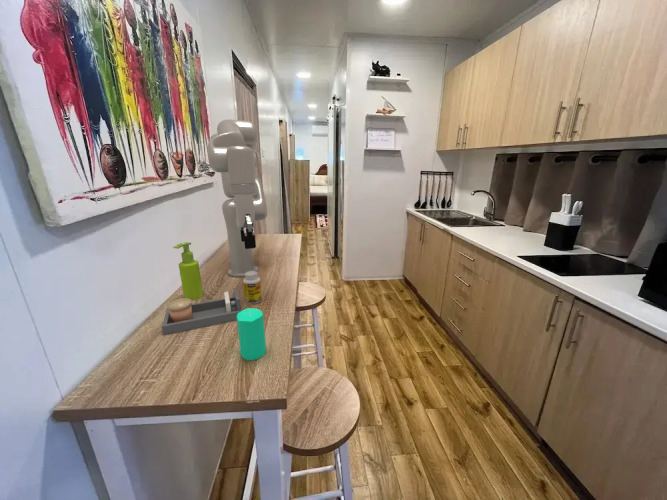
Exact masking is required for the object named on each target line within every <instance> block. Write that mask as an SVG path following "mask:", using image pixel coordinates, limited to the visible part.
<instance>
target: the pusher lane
mask: <svg viewBox="0 0 667 500" xmlns="http://www.w3.org/2000/svg"><path fill="white" fill-rule="evenodd" d="M233 294H234V296H229V299H230V306H231V312H227V311H226V303H225V297H223V298H219V299H213V300H207V301H206V300H205V301H202V302H201V301H200V302H196V303H191V307H192V313H193V319H191V320H185V321H180V322H175V323H172V322H171V317H170V312H169V309H168V307H167V308H166V311H165V314H164V317H163V321H162V324H161V329H162V330H161V331H162V335H163V336H167V335H171V334H176V333H181V332H187V331H191V330H197V329H201V328H206V327H211V326H216V325H221V324H226V323H230V322H235V321H236V322H237V314H238V313H239V312H241V311H242V307H241V300H240V295H239V291H238V288H237V287H233Z"/></svg>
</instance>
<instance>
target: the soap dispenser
mask: <svg viewBox="0 0 667 500" xmlns="http://www.w3.org/2000/svg"><path fill="white" fill-rule="evenodd" d="M190 245H192V242H188V241H186V242H182V243H178V244H176V245H174V246H173V247H172V248H173V249H180V248H182V249H183V251H182V252H181V254H180V255H181V260H182V261H181V262H179V263H178V269H179V276H180V280H181V281H180V282H181V286H182V293H183V298H188V299H190V300H191V301H192V300H196V299H200V298H201V297H203V296H204V292H203V285H202V284H203V283H202V278H201V277H202V276H201V272H200V264H199V261H198V260H196V259H194V253H193V251H191V250H190Z"/></svg>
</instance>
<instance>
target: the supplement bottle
mask: <svg viewBox="0 0 667 500" xmlns="http://www.w3.org/2000/svg"><path fill="white" fill-rule="evenodd" d="M243 278H244V279H243V280H242V284H243V294H244V301H245V302H247V303H252V305H255V304H258V303H261V302H262V299H263V297H262V283H261V282H262V281H261V278H260V277H259V275H258V272H256V271H249V272H246V273H245V277H243Z"/></svg>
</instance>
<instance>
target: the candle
mask: <svg viewBox="0 0 667 500" xmlns="http://www.w3.org/2000/svg"><path fill="white" fill-rule="evenodd" d="M264 318H265V317H264V311H262V310H261V309H259V308H258V309H257V308H253V307H252V308H251V307H247V308H245V309H243V310H242V309H241V312H239V313H238V314H237V320H236V322H237V331H238V340H239V342H238V343H239V349H240V351H239V352H240V356H241V358H242V359H244V360H245V361H256V360H258V359H261V358H262V357H263V356H264V355H265V354H266V352H267V346H266V345H267V344H266V331H265V319H264Z"/></svg>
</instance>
